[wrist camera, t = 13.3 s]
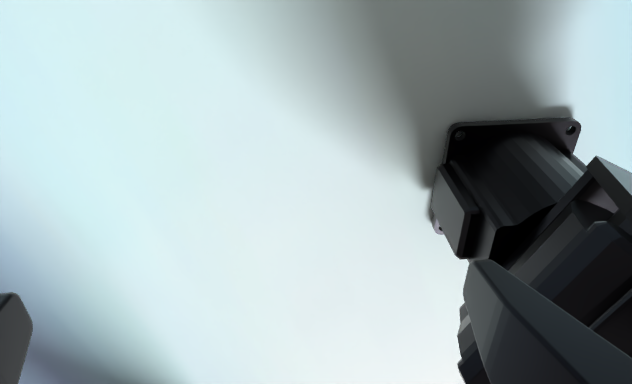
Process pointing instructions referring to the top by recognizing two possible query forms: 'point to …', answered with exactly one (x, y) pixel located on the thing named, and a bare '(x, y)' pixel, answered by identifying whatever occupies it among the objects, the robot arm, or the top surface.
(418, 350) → the top surface
